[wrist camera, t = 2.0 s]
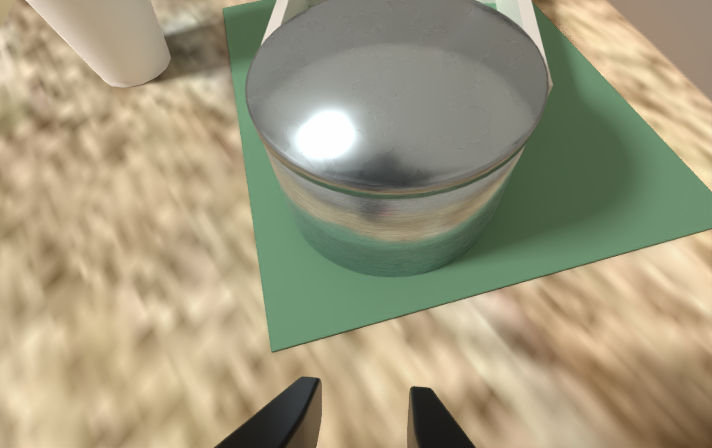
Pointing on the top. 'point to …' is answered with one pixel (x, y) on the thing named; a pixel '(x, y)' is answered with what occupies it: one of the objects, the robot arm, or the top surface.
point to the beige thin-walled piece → (510, 3)
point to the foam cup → (111, 37)
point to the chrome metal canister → (395, 125)
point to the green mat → (512, 216)
